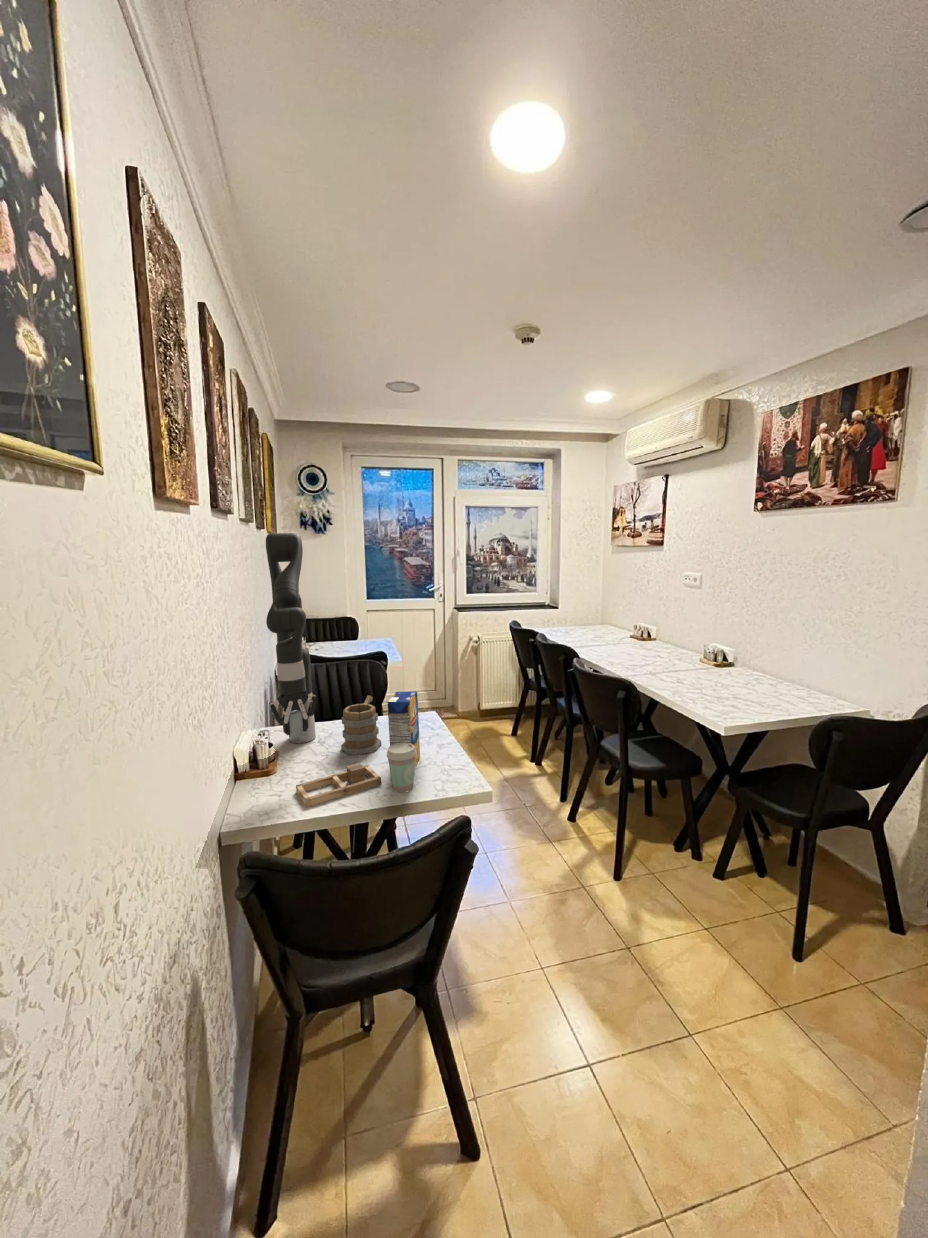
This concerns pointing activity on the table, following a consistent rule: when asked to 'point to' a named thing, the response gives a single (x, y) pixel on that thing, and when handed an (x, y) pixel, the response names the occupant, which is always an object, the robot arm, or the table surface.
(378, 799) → the table surface
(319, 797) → the frame
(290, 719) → the grey shaker
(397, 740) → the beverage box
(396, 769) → the coffee cup
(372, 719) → the tankard
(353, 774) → the walnut block
